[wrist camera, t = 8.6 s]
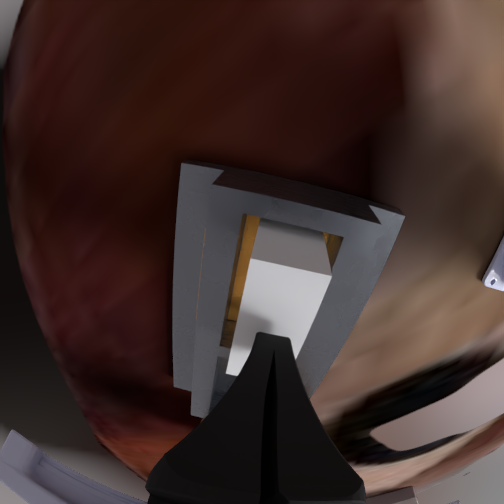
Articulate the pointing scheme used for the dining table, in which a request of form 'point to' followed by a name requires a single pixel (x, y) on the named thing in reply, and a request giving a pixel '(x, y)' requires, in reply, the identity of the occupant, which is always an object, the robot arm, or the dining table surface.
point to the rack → (238, 258)
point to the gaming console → (395, 497)
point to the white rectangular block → (280, 287)
